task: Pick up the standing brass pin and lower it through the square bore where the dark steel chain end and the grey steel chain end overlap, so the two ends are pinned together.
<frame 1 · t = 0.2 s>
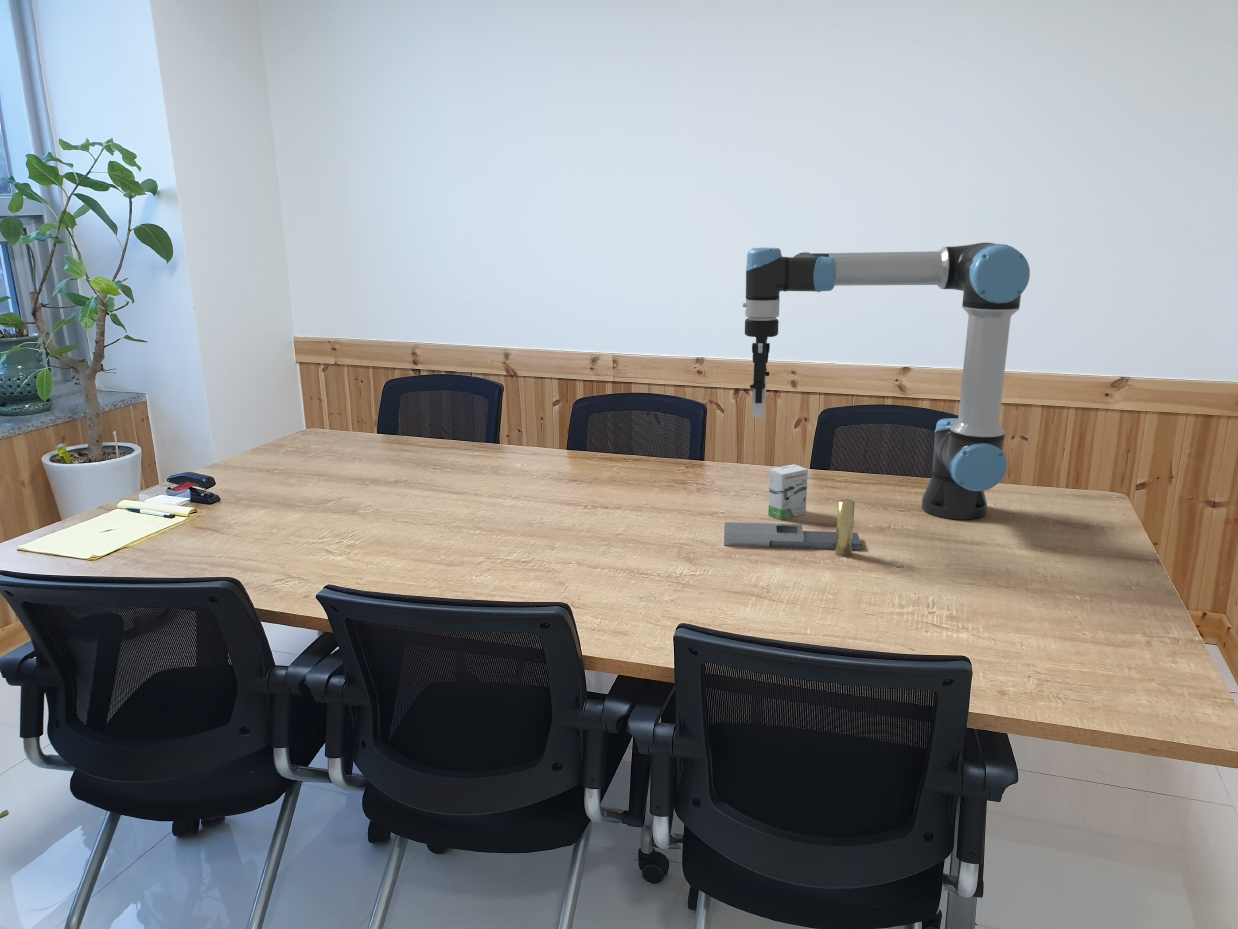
hand: (759, 410, 211), 28 cm above the table, fingers open, 13 cm apart
ink box: (786, 515, 224), on the table
chain end grey: (786, 541, 206), on the table
chain end dark: (786, 541, 206), on the table
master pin: (843, 553, 199), on the table
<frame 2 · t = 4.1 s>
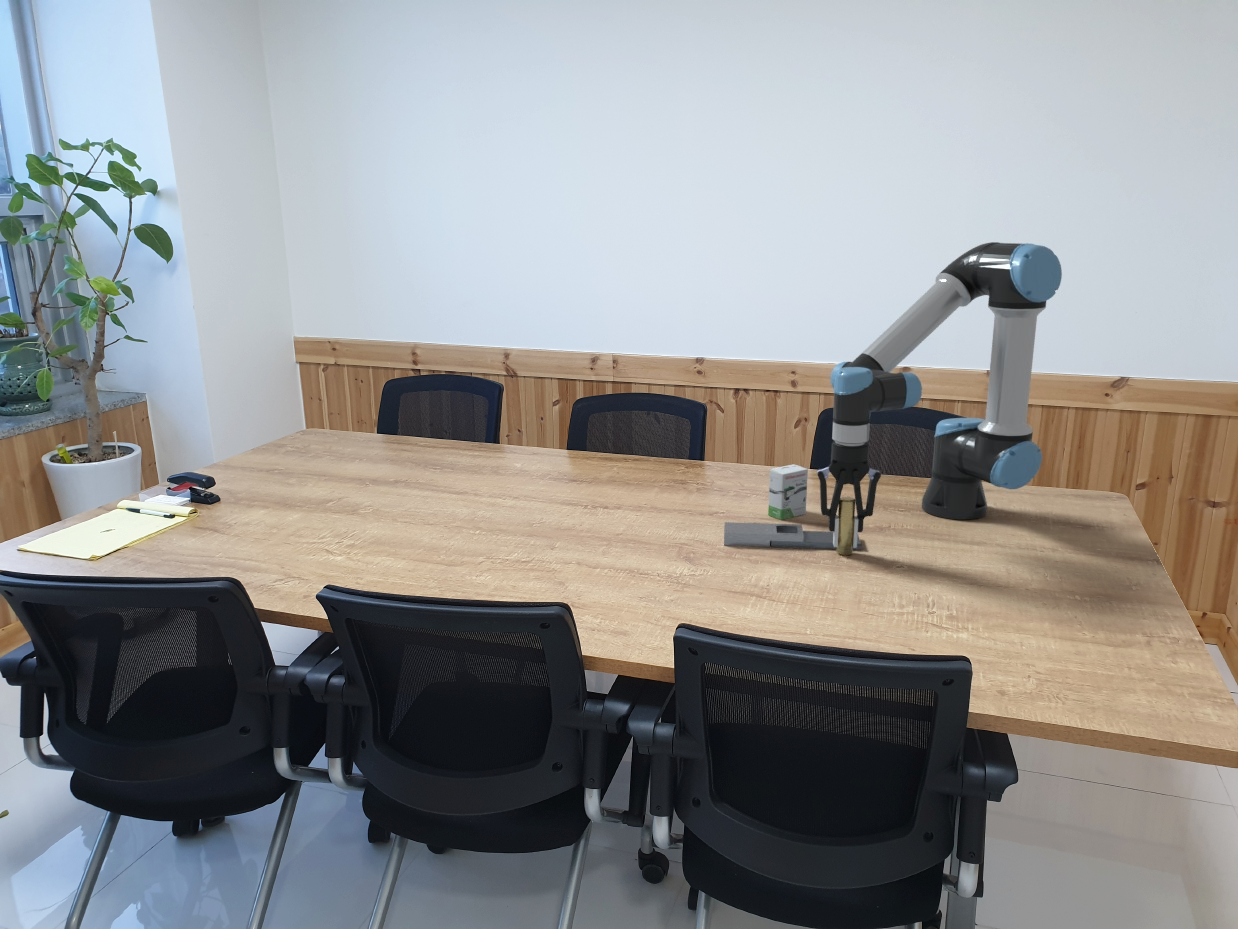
hand: (844, 545, 198), 2 cm above the table, fingers closed on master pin, 3 cm apart
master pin: (844, 551, 199), on the table, touching gripper
everything else where it was.
when the fingers open (4 cm above the table, at t = 8.0 s): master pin stays where it is, on the table.
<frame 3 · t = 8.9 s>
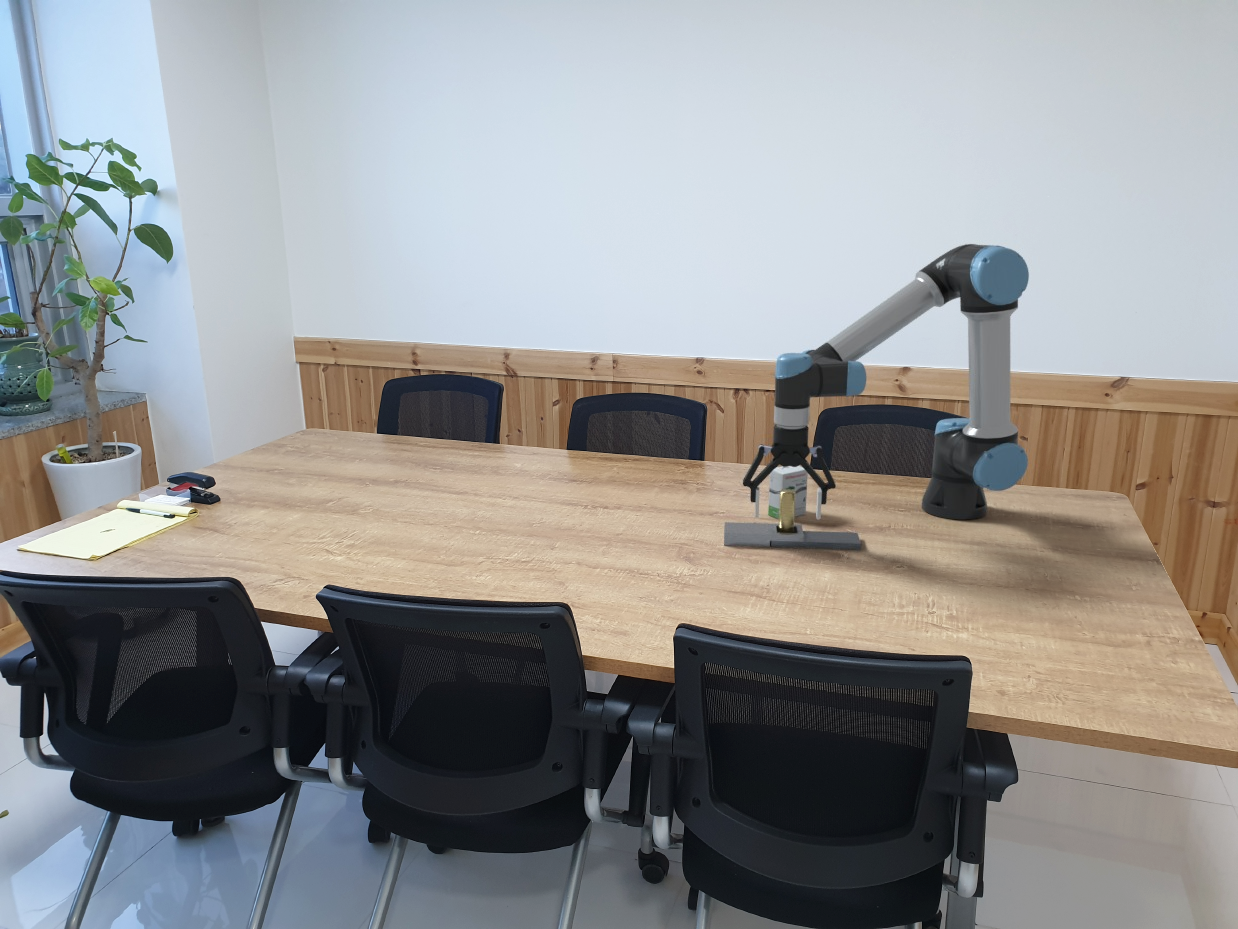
hand: (787, 516, 204), 6 cm above the table, fingers open, 13 cm apart
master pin: (785, 542, 206), on the table
everything else where it was.
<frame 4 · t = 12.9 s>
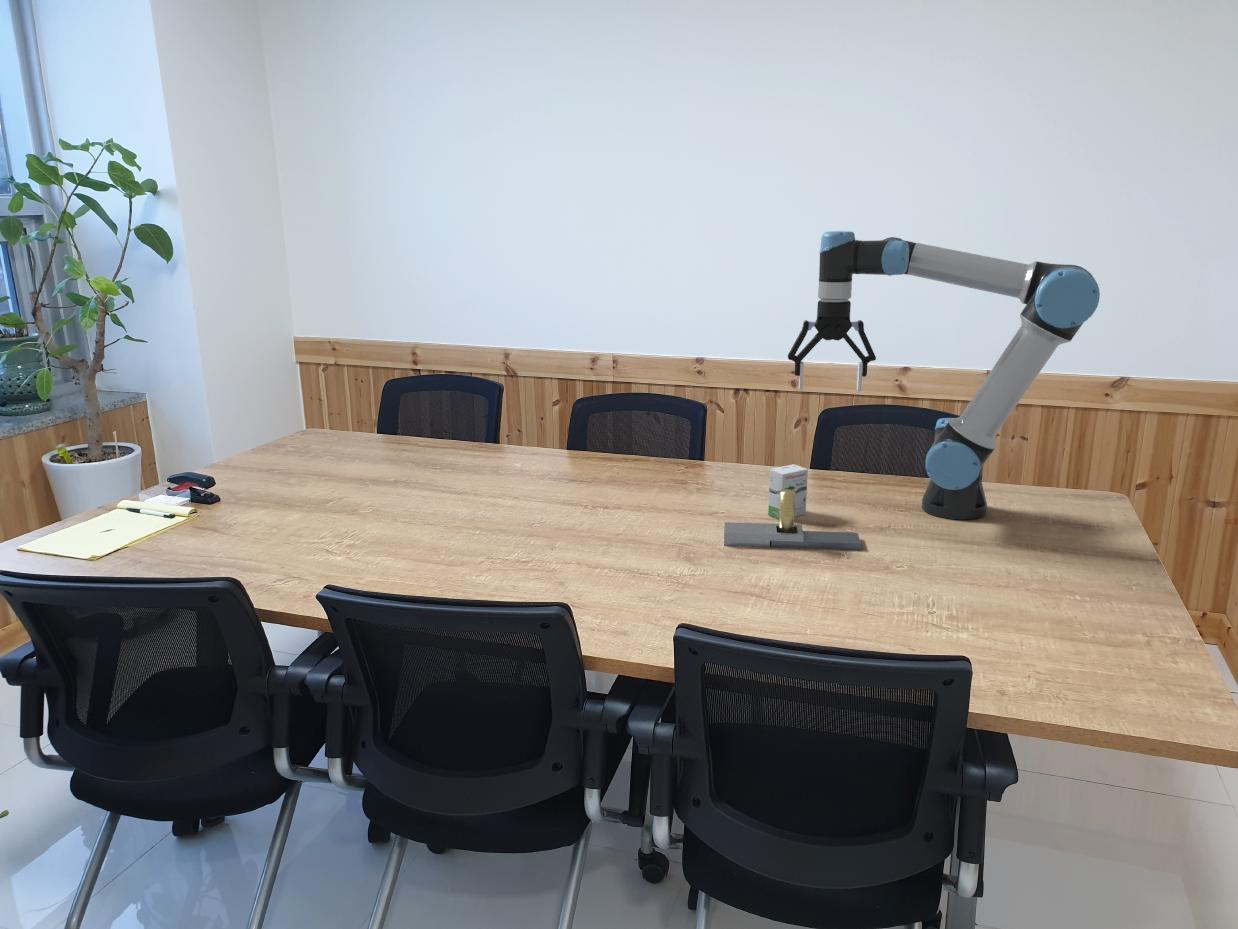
hand: (829, 389, 217), 31 cm above the table, fingers open, 13 cm apart
nothing on the table moved.
at the end: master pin 0.1 cm off-centre on the chain end dark, point 0.0 cm above the chain end dark's base; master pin tilted 0°; the gripper is holding nothing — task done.
